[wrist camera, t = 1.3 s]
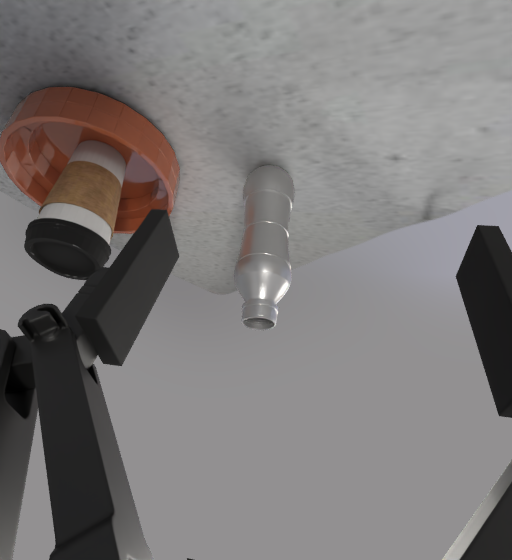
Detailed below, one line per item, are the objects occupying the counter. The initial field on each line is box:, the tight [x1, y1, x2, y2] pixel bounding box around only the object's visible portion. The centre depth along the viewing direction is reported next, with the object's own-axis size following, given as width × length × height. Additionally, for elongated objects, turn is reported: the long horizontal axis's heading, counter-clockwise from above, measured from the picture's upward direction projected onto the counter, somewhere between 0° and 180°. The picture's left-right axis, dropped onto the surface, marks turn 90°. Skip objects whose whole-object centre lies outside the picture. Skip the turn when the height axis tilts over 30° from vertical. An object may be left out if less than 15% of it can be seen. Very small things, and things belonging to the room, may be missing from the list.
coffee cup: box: [24, 140, 126, 280], centre depth 42 cm, size 8×8×15 cm
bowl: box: [0, 87, 180, 234], centre depth 44 cm, size 19×19×5 cm
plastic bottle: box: [234, 165, 295, 330], centre depth 42 cm, size 6×7×20 cm
